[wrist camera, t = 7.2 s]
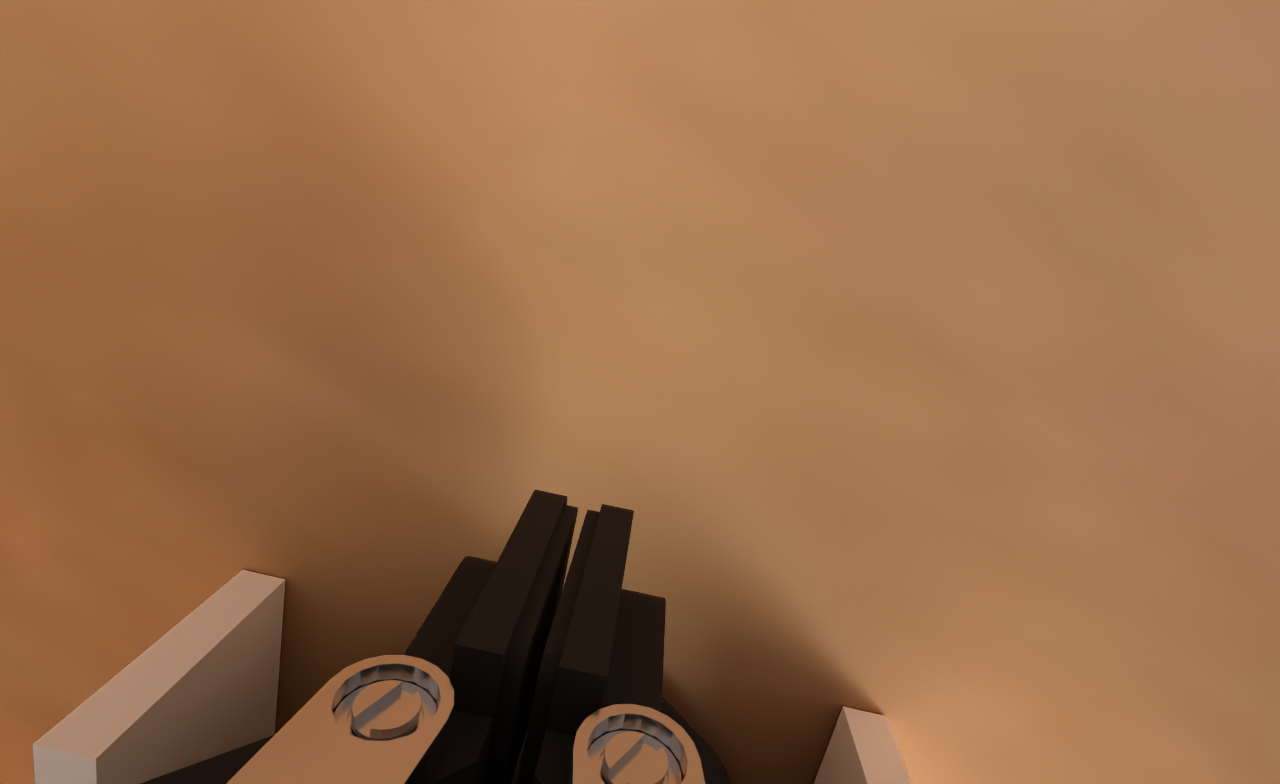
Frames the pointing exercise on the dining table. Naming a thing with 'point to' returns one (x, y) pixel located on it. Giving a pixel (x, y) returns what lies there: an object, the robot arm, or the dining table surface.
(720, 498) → the dining table surface
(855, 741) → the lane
